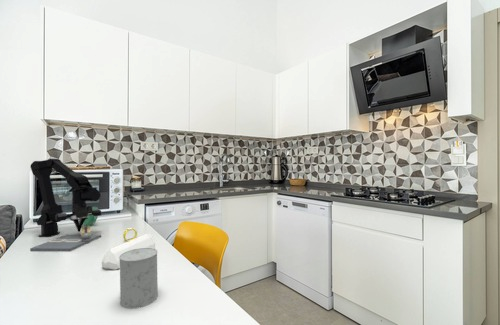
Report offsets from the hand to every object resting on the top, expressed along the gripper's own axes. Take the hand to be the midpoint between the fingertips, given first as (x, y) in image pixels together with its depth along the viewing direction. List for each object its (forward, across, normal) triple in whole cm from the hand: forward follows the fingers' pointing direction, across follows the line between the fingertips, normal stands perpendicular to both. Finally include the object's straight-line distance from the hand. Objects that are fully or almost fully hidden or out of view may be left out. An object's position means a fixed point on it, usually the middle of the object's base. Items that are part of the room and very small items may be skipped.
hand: (79, 231), depth 126 cm
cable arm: (0, +2, -6) cm, 6 cm away
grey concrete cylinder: (+4, -1, -80) cm, 80 cm away
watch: (+3, +16, -24) cm, 29 cm away
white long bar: (+4, +8, -48) cm, 49 cm away
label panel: (+3, -6, -8) cm, 10 cm away
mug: (+3, +10, +24) cm, 26 cm away
